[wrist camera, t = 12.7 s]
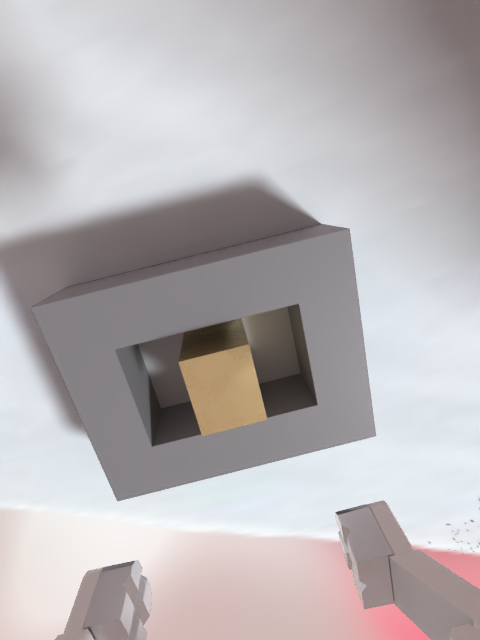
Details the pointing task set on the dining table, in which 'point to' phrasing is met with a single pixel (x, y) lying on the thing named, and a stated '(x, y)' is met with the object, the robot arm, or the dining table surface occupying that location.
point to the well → (201, 311)
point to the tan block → (221, 377)
